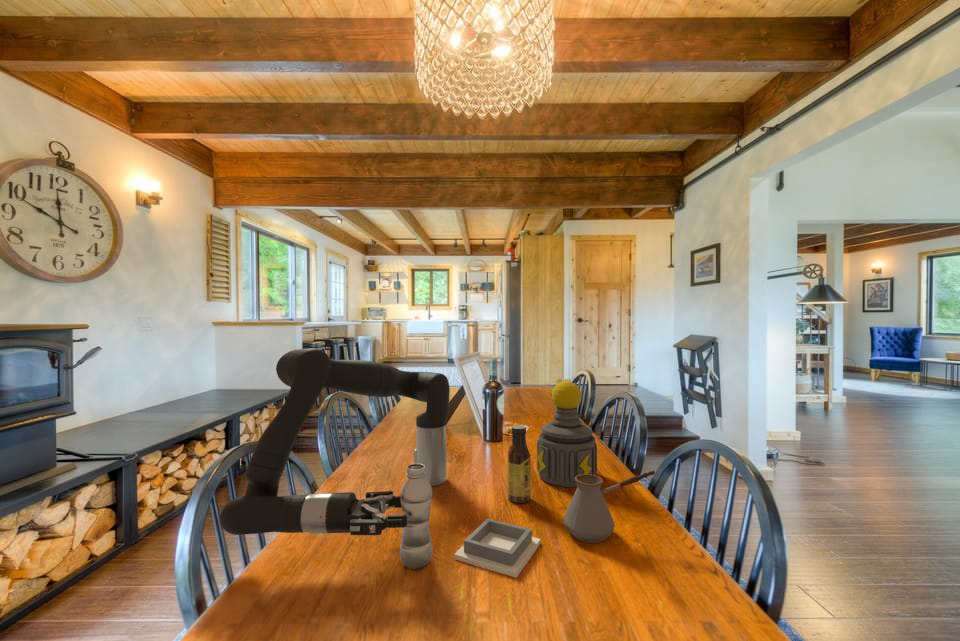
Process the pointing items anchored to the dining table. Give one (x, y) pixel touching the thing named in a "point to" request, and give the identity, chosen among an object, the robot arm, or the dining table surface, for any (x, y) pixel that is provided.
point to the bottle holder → (499, 547)
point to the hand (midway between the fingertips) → (409, 510)
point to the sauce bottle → (518, 467)
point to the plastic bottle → (416, 518)
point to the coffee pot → (593, 508)
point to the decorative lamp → (566, 441)
